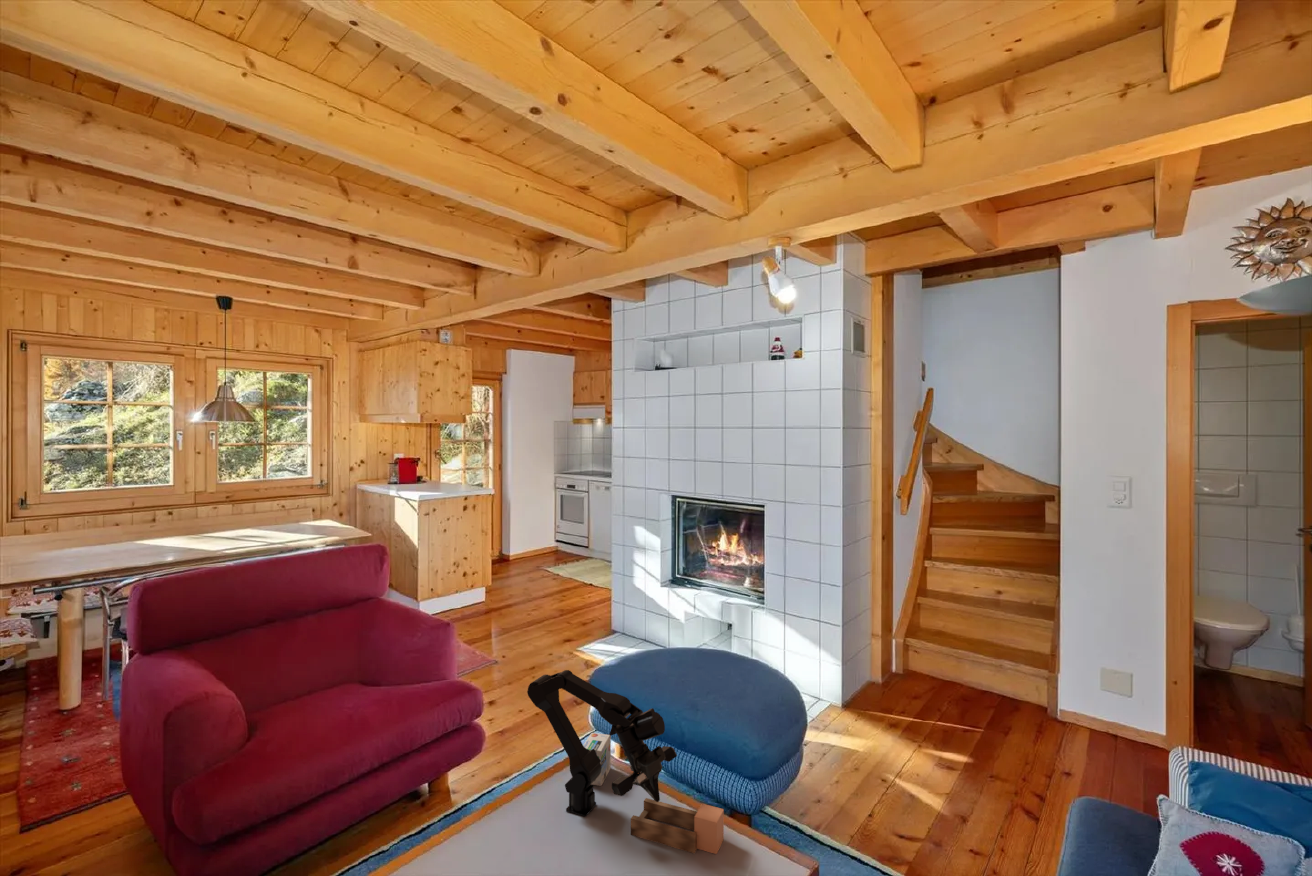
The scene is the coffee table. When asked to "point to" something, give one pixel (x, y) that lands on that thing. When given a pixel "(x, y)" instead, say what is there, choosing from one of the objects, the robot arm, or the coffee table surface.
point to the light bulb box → (600, 753)
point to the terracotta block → (709, 828)
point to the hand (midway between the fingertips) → (658, 801)
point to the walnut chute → (663, 831)
